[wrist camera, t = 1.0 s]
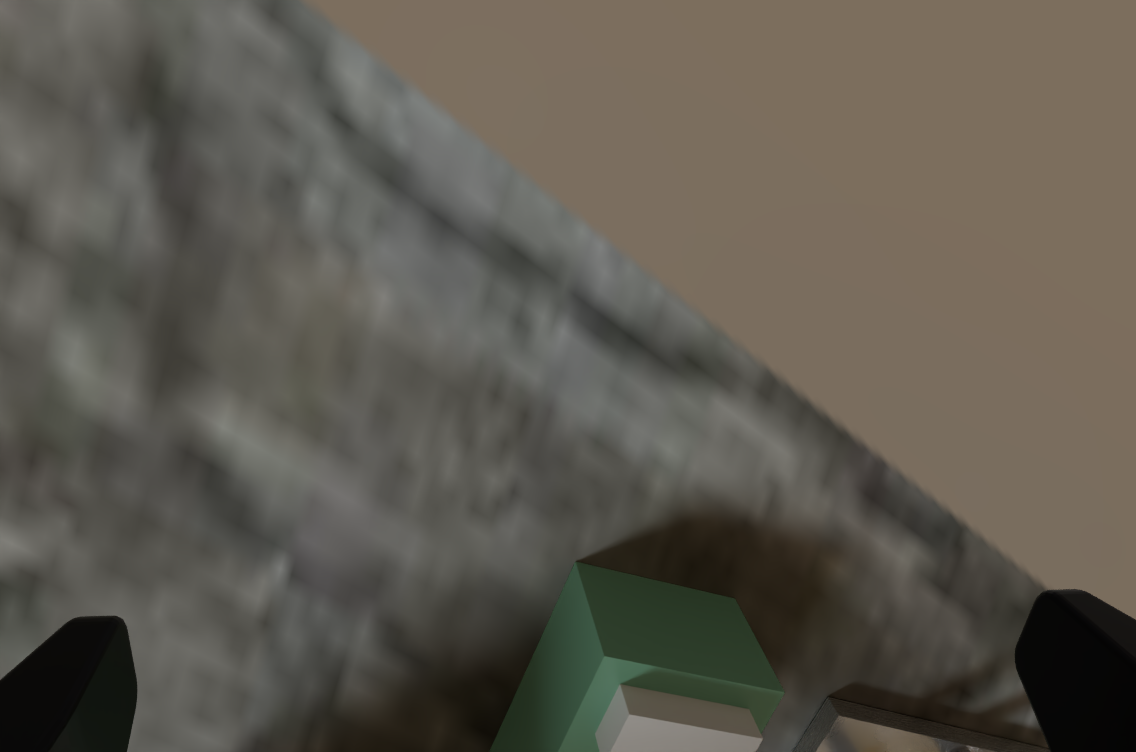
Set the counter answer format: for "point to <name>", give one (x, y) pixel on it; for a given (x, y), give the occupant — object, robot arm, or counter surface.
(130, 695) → the robot arm
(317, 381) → the counter surface
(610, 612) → the green block
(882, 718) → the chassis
